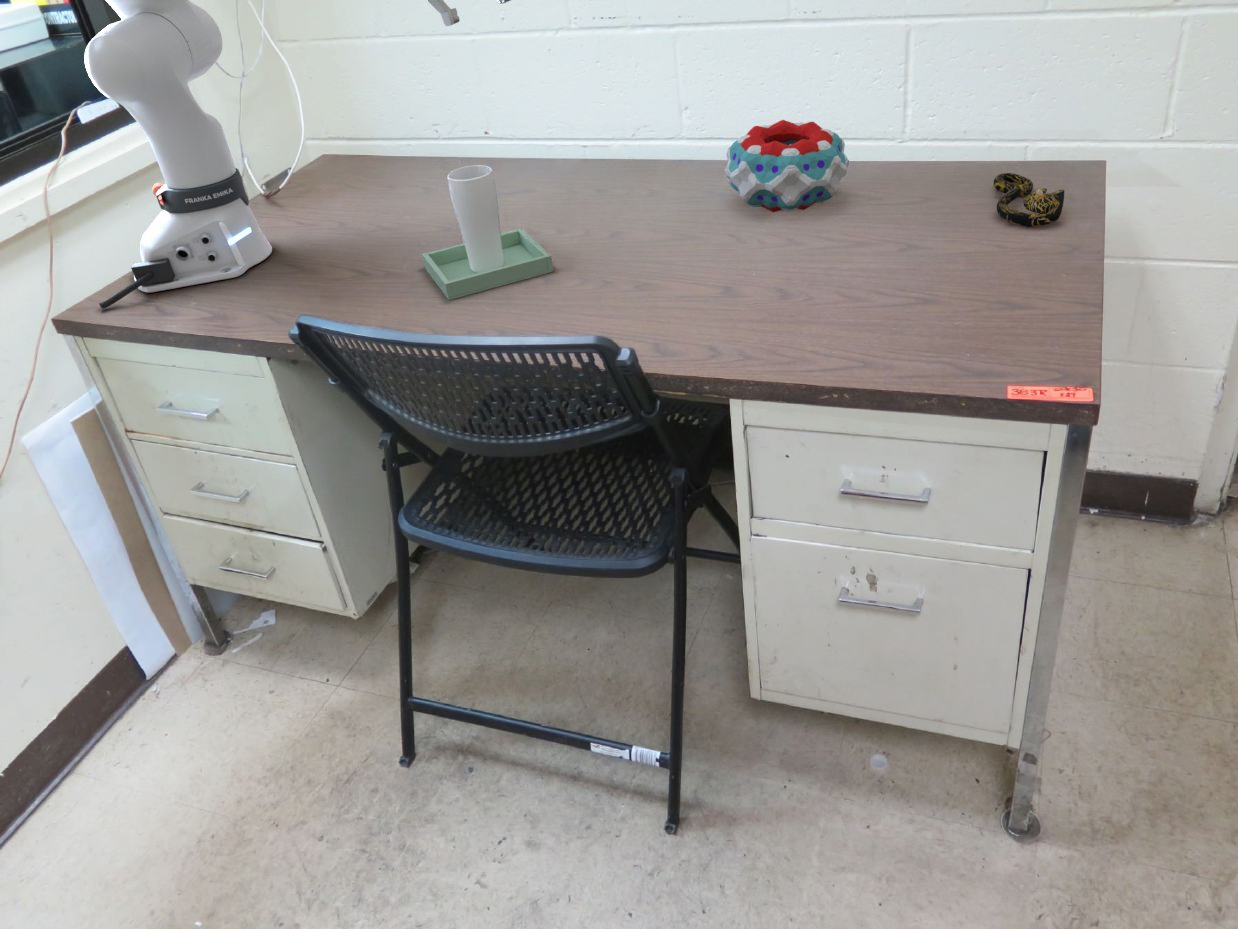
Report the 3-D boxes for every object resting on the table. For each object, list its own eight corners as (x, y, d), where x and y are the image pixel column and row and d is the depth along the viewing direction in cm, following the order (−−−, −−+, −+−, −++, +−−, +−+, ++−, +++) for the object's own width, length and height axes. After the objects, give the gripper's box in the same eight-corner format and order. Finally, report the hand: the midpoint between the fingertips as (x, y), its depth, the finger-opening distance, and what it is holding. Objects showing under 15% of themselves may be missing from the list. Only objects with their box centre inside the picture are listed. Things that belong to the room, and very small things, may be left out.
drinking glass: (477, 258, 156) (459, 164, 147) (516, 259, 153) (500, 164, 145) (458, 276, 150) (438, 179, 142) (498, 278, 148) (480, 180, 140)
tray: (448, 300, 145) (445, 283, 143) (425, 269, 155) (421, 253, 154) (553, 271, 149) (551, 255, 148) (524, 243, 160) (521, 228, 158)
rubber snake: (999, 153, 156) (1066, 159, 154) (993, 181, 159) (1059, 187, 156) (991, 198, 143) (1065, 205, 140) (985, 227, 146) (1057, 235, 143)
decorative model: (810, 80, 163) (845, 109, 146) (839, 158, 170) (876, 194, 154) (705, 136, 166) (728, 171, 149) (738, 210, 174) (763, 251, 157)
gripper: (490, -116, 134) (522, -9, 141) (367, -75, 124) (408, 38, 132) (517, -125, 130) (549, -13, 137) (392, -83, 120) (433, 35, 127)
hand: (479, 12), depth 134 cm, fingers open, 8 cm apart
